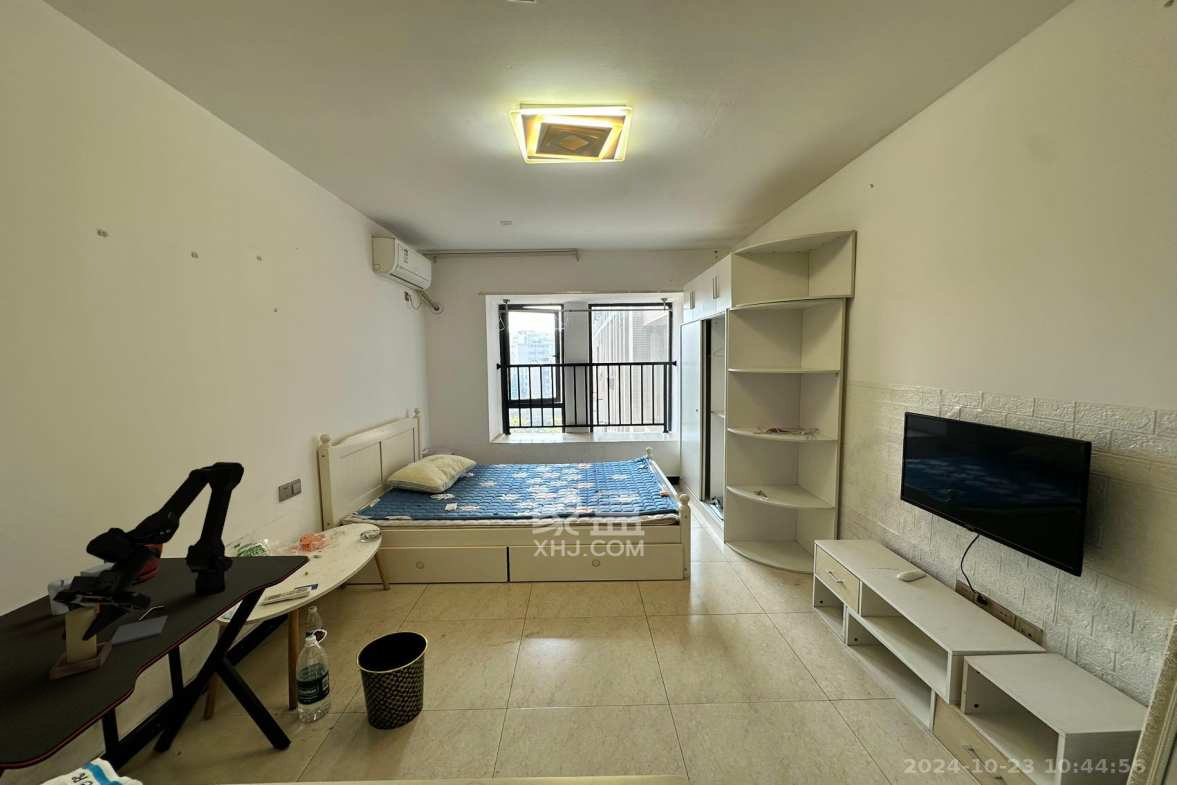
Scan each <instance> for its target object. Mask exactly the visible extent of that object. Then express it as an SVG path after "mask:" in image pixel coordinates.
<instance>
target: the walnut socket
mask: <svg viewBox="0 0 1177 785" xmlns="http://www.w3.org/2000/svg"><path fill="white" fill-rule="evenodd" d="M96 649H97V658H94V659H90V660H86V661H82V662H78V663H74V664H70V665H67V651H64V652H63V653H62V654H61V655H60V656H59V658H58V659H57V661H56V662H55V663H54V665H52V667H51V668H50V670H49V674H48V675H49V681H51V680H56V679H60V678H63V677H67V676H70V675H75V674H79V673H82V672H86V671H87V672H88V671H90V670H93V669H98V668H102V666H103V664H104V663H105V662H106V659H107V657H108V655H109V654H110V652H111V651H112V649H113V646H112V641H111V640H109V641H105V642H101V643H96Z"/></svg>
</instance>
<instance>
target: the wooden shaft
mask: <svg viewBox="0 0 1177 785" xmlns="http://www.w3.org/2000/svg"><path fill="white" fill-rule="evenodd" d="M64 616H65V626H66V640H65V644H66V645H65V646H66V652H67V663H66V665H70V664H74V663H78V662H82V661H86V660H90V659H94V658H97V657H98V654H97V649H96V644H97V634H96V635H94V636H93V637H92V638H90V639H89V640H87V641H84V640H82V638H83V636H84V634H85V633H86V631H87V630H88V628H89V627H90V625H91V624H92V622H93V621H94V620H95V618H96V614H95V607H94V606H86V607H81V608H78V609H75V610H72V611H70V612H69V611H68V612H66V613H65V615H64Z"/></svg>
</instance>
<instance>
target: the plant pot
mask: <svg viewBox="0 0 1177 785" xmlns="http://www.w3.org/2000/svg"><path fill="white" fill-rule="evenodd" d="M137 545H145V546H147V547H149V548H159V552H160V555H161V557H160V558H151V559H150V560H149V562H148V563H147V564H146V566H145V567H144V569H143V570H142V571H141V573H140V574H139V575H138V577H139V578H141V580H140V581H139V582H141V581H142V582H143V581H145V580H147V579H150V578H151V577H153V576H154V575H156V574H157V573H158V572H159V569H160V567H159V566H158V564H159V562H160V560H161V558H162V553H163V548H164V544H161V545H155V544H138V543H137ZM105 563H108V562H106V561H104V560H103V564H105ZM136 583H137V582H133V584H136Z"/></svg>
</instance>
